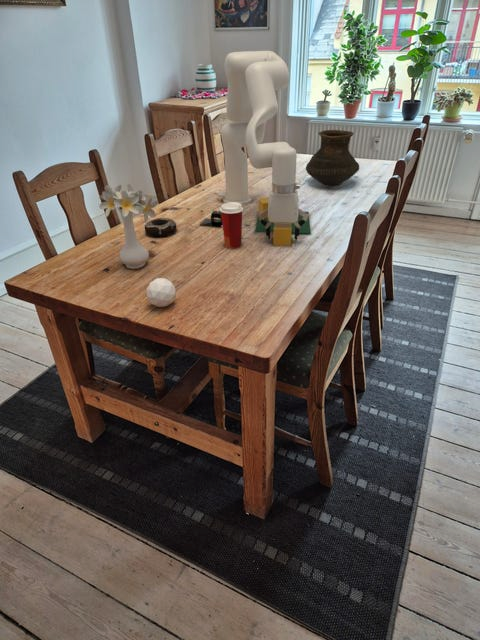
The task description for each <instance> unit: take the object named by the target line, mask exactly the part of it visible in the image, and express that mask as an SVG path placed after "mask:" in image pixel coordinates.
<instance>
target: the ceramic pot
mask: <svg viewBox="0 0 480 640" xmlns="http://www.w3.org/2000/svg"><path fill="white" fill-rule="evenodd" d="M317 134H318V135H319V136H320V148H319V149H318V150H317V151H316V152H315V153H314V154H313V155H312V156H311V158H310V159H309V161H308V162H307V163H306V167H305V171H306V173H307V174H308V175H309V176H310V178H311V177H312V178H313V179H314V180H316V181H317V182H318V183H320V184H321V185H323V186H327V187H338V186H340V185H342V184H343V183H345V182H346V181H348V180H349V179H351V178H352V177H353V176H355V175H356V173H358V172H359V171H360V164H359V162H357V160H356V159H355V157H354V156H353V155H352V154H351V151H350V149H349V147H350V142H351V137H353V136H354V134H355V133H354V132H353V131H349V130H344V129H343V130H340V129H324V130H321V131H319V132H318V133H317Z"/></svg>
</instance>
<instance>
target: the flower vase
mask: <svg viewBox="0 0 480 640" xmlns="http://www.w3.org/2000/svg"><path fill="white" fill-rule="evenodd" d="M122 187H123V186H122V185H121V184H118V185H116V186H115V187H114V189H113V188H112V187H111V186H110V185H105V186H104V190H103V191H102V194H101V195H99V197H98V198H99V200H104V201H103V202H101V203H100V204H99V206H98V208H99V209H100V210H105V215H104V216H105V217H106V218H108V217H109V215H110V213H111V211H114V210H115V209H116V207H117V210H118V212H119V213H120V217H121V219H122V224H123V230H124V244H123V245H122V248H121V249H120V251H119V253H118V259H119V262H121V263H122V264H123V265H125V267H126V268H127V269H130V270H137V269H141V268H143V267H144V266H145V265H146V262H147V261H148V259H149V257H150V252H149V251H148V249H147V247H145V246H144V245H143V244H142V243H141V242H140V241H139V239H138V236H137V233H136V229H135V224H134V218H133V217H134V216H133V214H136V215H138V214H140V210H139V208H138V207H140V208H142V211H141V214H143V221H144V223H145V224H146V223H147V222H148V221H149V217H150V218H153V219H154V218H155V217H156V212H155V210H154V209H153V208H156V207H157V205H158V203H159V200H154V201H153V198H152V197H149V198H148V200H147V198H146V196H145V195H144V194H143V190H142V189H140V188H139V186H138V185H136V190H134V188H133V185H132V184H131V183H127V190H122ZM146 200H147V201H146Z"/></svg>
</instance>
